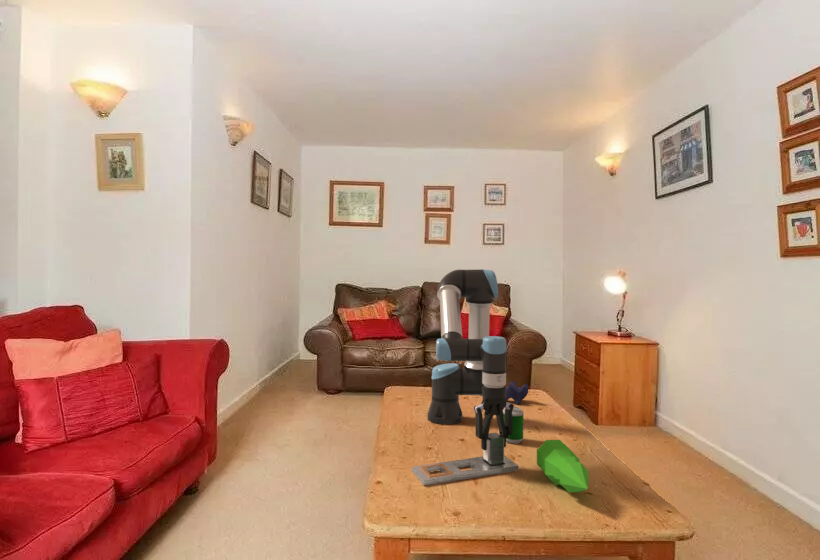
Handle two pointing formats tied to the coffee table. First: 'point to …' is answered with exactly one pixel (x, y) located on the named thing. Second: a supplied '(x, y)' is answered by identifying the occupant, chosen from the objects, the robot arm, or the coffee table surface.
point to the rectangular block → (496, 449)
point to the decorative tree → (562, 466)
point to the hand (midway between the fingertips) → (493, 458)
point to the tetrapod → (516, 392)
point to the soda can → (516, 426)
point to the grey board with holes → (455, 474)
